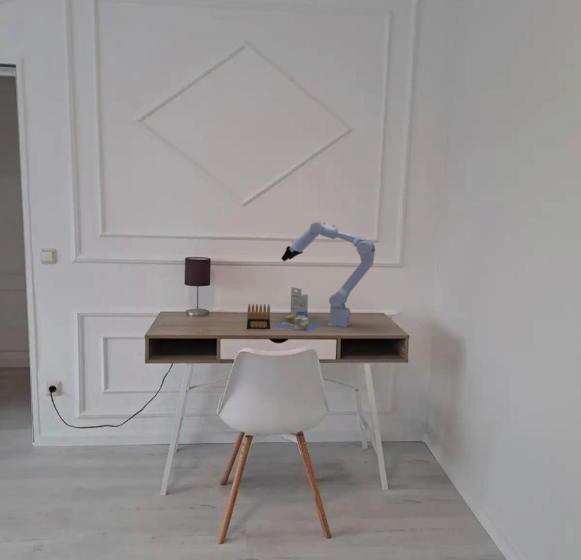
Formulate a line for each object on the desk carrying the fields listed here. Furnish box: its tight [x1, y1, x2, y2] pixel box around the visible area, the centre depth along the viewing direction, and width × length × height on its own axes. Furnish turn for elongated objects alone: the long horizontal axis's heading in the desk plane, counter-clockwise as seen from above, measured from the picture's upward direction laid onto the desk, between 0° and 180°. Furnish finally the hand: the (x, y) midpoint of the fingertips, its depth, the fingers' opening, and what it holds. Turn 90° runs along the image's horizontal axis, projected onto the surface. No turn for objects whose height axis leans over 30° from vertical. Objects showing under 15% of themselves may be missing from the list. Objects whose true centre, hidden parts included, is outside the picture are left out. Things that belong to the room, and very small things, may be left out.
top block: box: [295, 317, 309, 331], centre depth 238 cm, size 4×4×5 cm
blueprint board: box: [270, 319, 325, 332], centre depth 246 cm, size 20×18×1 cm
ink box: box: [290, 287, 309, 317], centre depth 269 cm, size 8×5×15 cm, turn 39°
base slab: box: [283, 314, 308, 325], centre depth 251 cm, size 8×8×3 cm
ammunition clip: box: [246, 303, 271, 330], centre depth 236 cm, size 11×2×12 cm, turn 91°
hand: (285, 258), depth 257 cm, fingers open, 7 cm apart
